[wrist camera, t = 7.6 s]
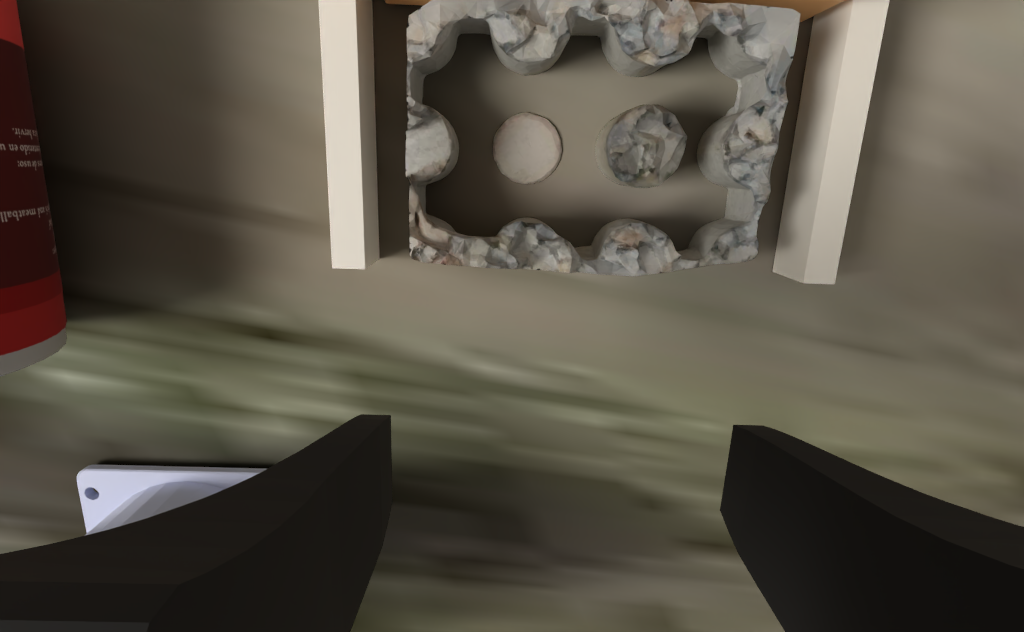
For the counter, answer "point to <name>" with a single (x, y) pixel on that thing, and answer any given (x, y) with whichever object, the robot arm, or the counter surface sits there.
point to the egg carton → (606, 126)
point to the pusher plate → (806, 3)
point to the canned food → (24, 218)
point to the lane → (813, 166)
